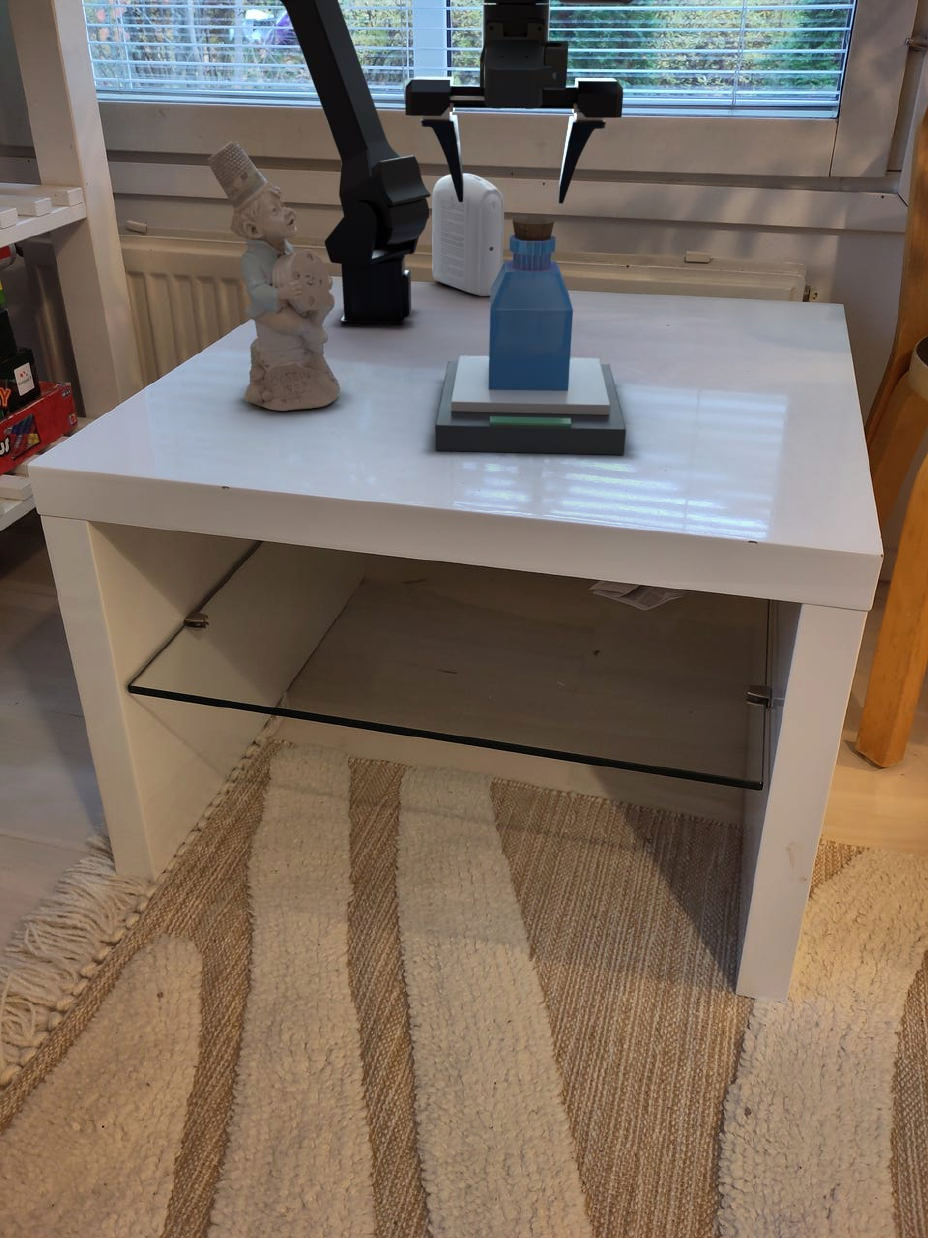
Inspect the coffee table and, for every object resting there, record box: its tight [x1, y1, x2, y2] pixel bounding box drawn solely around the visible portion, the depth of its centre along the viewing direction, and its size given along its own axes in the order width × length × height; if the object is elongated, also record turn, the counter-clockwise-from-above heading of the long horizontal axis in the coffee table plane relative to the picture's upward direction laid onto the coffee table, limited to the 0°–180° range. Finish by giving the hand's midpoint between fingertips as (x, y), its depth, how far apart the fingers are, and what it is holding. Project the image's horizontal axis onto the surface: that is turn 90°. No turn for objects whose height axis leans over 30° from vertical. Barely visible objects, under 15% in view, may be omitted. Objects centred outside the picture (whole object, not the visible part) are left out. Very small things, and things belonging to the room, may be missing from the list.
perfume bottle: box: [488, 215, 574, 391], centre depth 79 cm, size 6×6×12 cm
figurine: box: [207, 138, 341, 412], centre depth 80 cm, size 9×8×20 cm
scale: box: [434, 354, 627, 456], centre depth 81 cm, size 14×16×3 cm
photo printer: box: [431, 173, 505, 297], centre depth 117 cm, size 10×4×12 cm, turn 36°
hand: (510, 202), depth 94 cm, fingers open, 9 cm apart
